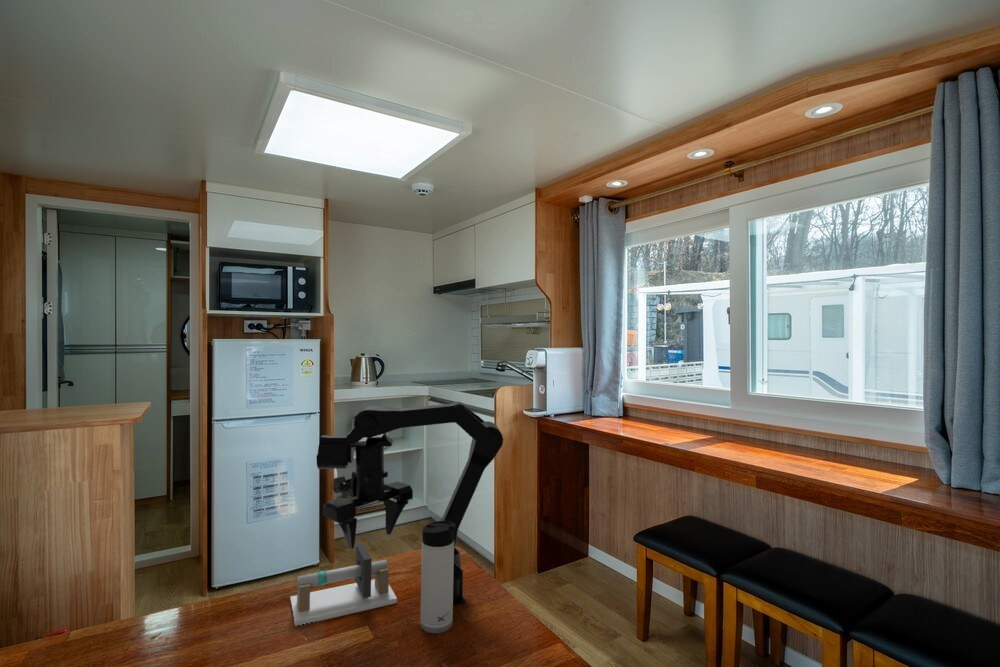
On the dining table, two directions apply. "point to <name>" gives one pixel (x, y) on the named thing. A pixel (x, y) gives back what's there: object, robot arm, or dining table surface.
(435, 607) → the travel mug
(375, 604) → the pipe stand
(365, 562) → the dark grey flat block
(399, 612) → the dining table surface
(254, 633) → the dining table surface
